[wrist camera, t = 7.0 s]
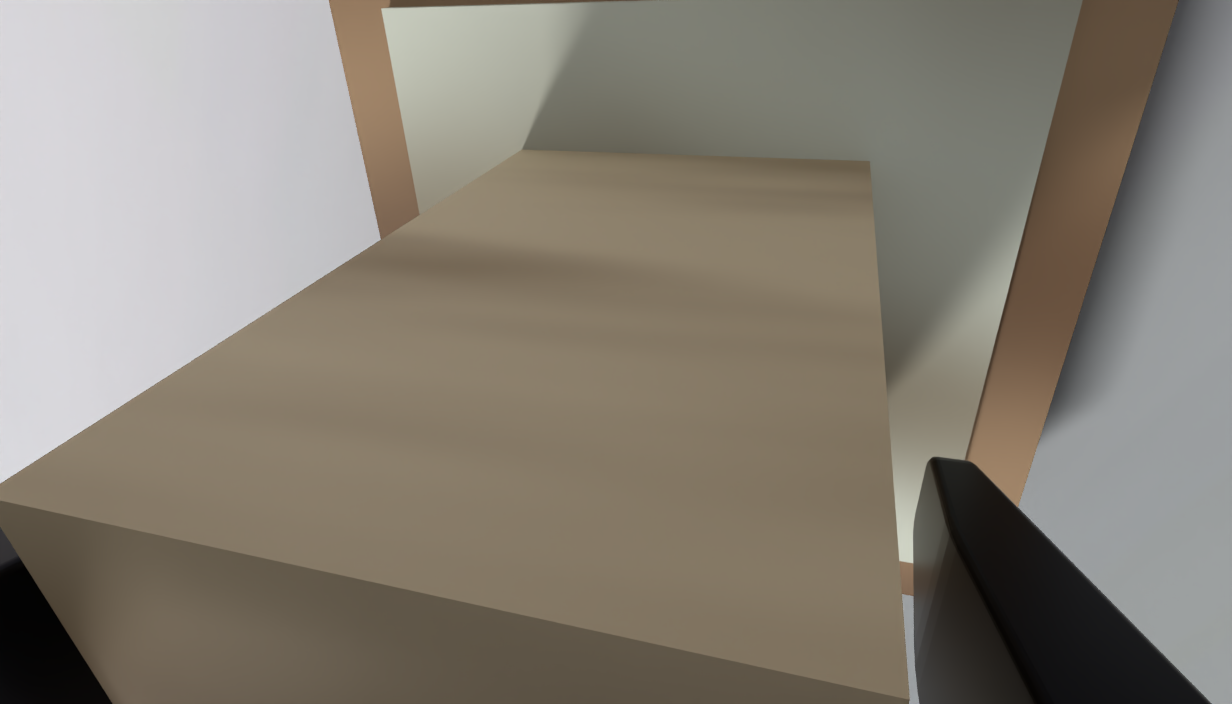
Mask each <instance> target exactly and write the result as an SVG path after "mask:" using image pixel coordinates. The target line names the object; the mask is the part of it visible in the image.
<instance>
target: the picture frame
mask: <svg viewBox="0 0 1232 704" xmlns="http://www.w3.org/2000/svg"><path fill="white" fill-rule="evenodd" d="M1178 1H1179V0H329V3H330V8H331V13H332V17H333V22H334V26H335V31H336V35H337V40H338V45H339V49H340V54H341V58H342V63H343V68H344V72H345V77H346V81H347V86H348V90H349V95H350V100H351V104H352V109H353V113H354V118H355V122H356V127H357V132H358V136H359V141H360V145H361V150H362V155H363V159H364V164H365V168H366V173H367V177H368V182H369V187H370V191H371V196H372V200H373V205H374V209H375V214H376V219H377V223H378V228H379V232H380V237H381V239H383V238H385V237H386V236H388V235H389V234H391V233H392V232H394V231H395V230H397V229H399V228H400V227H402V226H403V225H405V224H406V223H408V222H409V221H411V220H413V219H414V218H416V217H417V216H419V215H420V214H422V213H424V212H425V211H427V210H428V209H430V208H431V207H433V206H434V205H436V204H438V203H439V202H441V201H442V200H444V199H445V198H447V197H449V196H450V195H452V194H453V193H455V192H456V191H458V190H459V189H461V188H463V187H464V186H466V185H467V184H469V183H470V182H472V181H473V180H475V179H477V178H478V177H480V176H481V175H483V174H484V173H486V172H488V171H489V170H491V169H492V168H494V167H495V166H497V165H498V164H500V163H502V162H503V161H505V160H506V159H508V158H509V157H511V156H513V155H514V154H516V153H517V152H519V151H520V150H552V151H581V152H611V153H641V154H671V155H701V156H730V157H760V158H790V159H820V160H850V161H870V170H871V184H872V197H873V211H874V224H875V238H876V251H877V265H878V279H879V292H880V306H881V319H882V333H883V346H884V360H885V373H886V387H887V400H888V414H889V427H890V441H891V454H892V468H893V482H894V495H895V509H896V522H897V536H898V549H899V563H900V576H901V590H902V594H905V595H911V596H914V587H913V526H914V518H915V512H916V508H917V503H918V499H919V495H920V490H921V486H922V481H923V477H924V472H925V468H926V465H927V462H928V461H929V460H930V459H931V458H932V457H936V456H937V457H945V458H952V459H960V460H968V461H971V462H973V463H974V464H975V465H977V466H978V467H979V468H980V469H981V470H982V471H983V472H984V474H985V475H986V476H987V477H988V478H989V479H990V480H991V481H992V482H993V483H994V484H995V485H996V486H997V487H998V488H999V489H1000V490H1001V491H1002V492H1003V493H1004V494H1005V495H1006V496H1007V497H1008V498H1009V499H1010V500H1011V501H1012V502H1013V503H1014V504H1015V505H1016V506H1017V507H1018V505H1019V502H1020V499H1021V496H1022V492H1023V489H1024V486H1025V483H1026V480H1027V477H1028V474H1029V470H1030V467H1031V464H1032V461H1033V458H1034V455H1035V452H1036V448H1037V445H1038V442H1039V439H1040V436H1041V433H1042V429H1043V426H1044V423H1045V420H1046V417H1047V414H1048V411H1049V407H1050V404H1051V401H1052V398H1053V395H1054V392H1055V389H1056V385H1057V382H1058V379H1059V376H1060V373H1061V370H1062V366H1063V363H1064V360H1065V357H1066V354H1067V351H1068V348H1069V344H1070V341H1071V338H1072V335H1073V332H1074V329H1075V326H1076V322H1077V319H1078V316H1079V313H1080V310H1081V307H1082V304H1083V300H1084V297H1085V294H1086V291H1087V288H1088V285H1089V281H1090V278H1091V275H1092V272H1093V269H1094V266H1095V263H1096V259H1097V256H1098V253H1099V250H1100V247H1101V244H1102V241H1103V237H1104V234H1105V231H1106V228H1107V225H1108V222H1109V218H1110V215H1111V212H1112V209H1113V206H1114V203H1115V200H1116V196H1117V193H1118V190H1119V187H1120V184H1121V181H1122V178H1123V174H1124V171H1125V168H1126V165H1127V162H1128V159H1129V156H1130V152H1131V149H1132V146H1133V143H1134V140H1135V137H1136V133H1137V130H1138V127H1139V124H1140V121H1141V118H1142V115H1143V111H1144V108H1145V105H1146V102H1147V99H1148V96H1149V93H1150V89H1151V86H1152V83H1153V80H1154V77H1155V74H1156V70H1157V67H1158V64H1159V61H1160V58H1161V55H1162V52H1163V48H1164V45H1165V42H1166V39H1167V36H1168V33H1169V30H1170V26H1171V23H1172V20H1173V17H1174V14H1175V11H1176V8H1177V4H1178Z"/></svg>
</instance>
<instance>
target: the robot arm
mask: <svg viewBox="0 0 1232 704" xmlns="http://www.w3.org/2000/svg"><path fill="white" fill-rule="evenodd" d="M913 587H914V653H915V671H916V680H917V689H918V697H919V704H1211V703H1210V702H1209V701H1208V700H1207V699H1206V697H1205V696H1204V695H1203V694H1202V693H1201V692H1200V691H1199V690H1198V689H1197V688H1196V687H1195V686H1194V685H1193V684H1192V683H1191V682H1190V681H1189V680H1188V679H1187V678H1186V677H1185V676H1184V675H1183V674H1182V673H1181V672H1180V671H1179V670H1178V669H1177V668H1176V667H1175V666H1174V665H1173V664H1172V663H1171V662H1170V661H1169V660H1168V659H1167V658H1166V657H1165V656H1164V655H1163V654H1162V653H1161V652H1160V651H1159V650H1158V649H1157V648H1156V647H1155V646H1154V645H1153V644H1152V643H1151V642H1150V641H1149V640H1148V639H1147V638H1146V637H1145V636H1144V635H1143V634H1142V633H1141V632H1140V631H1139V630H1138V629H1137V628H1136V627H1135V626H1134V625H1133V624H1132V622H1131V621H1130V620H1129V619H1128V618H1127V617H1126V616H1125V615H1124V614H1123V613H1122V612H1121V611H1120V610H1119V609H1118V608H1117V607H1116V606H1115V605H1114V604H1113V603H1112V602H1111V601H1110V600H1109V599H1108V598H1107V597H1106V596H1105V595H1104V594H1103V593H1102V592H1101V591H1100V590H1099V589H1098V588H1097V587H1096V586H1095V585H1094V584H1093V583H1092V582H1091V581H1090V580H1089V579H1088V578H1087V577H1086V576H1085V575H1084V574H1083V573H1082V572H1081V571H1080V570H1079V569H1078V568H1077V567H1076V566H1075V565H1074V564H1073V563H1072V562H1071V561H1070V560H1069V559H1068V558H1067V557H1066V556H1065V555H1064V554H1063V553H1062V552H1061V551H1060V550H1059V549H1058V547H1057V546H1056V545H1055V544H1054V543H1053V542H1052V541H1051V540H1050V539H1049V538H1048V537H1047V536H1046V535H1045V534H1044V533H1043V532H1042V531H1041V530H1040V529H1039V528H1038V527H1037V526H1036V525H1035V524H1034V523H1033V522H1032V521H1031V520H1030V519H1029V518H1028V517H1027V516H1026V515H1025V514H1024V513H1023V512H1022V511H1021V510H1020V509H1019V508H1018V507H1017V506H1016V505H1015V504H1014V503H1013V502H1012V501H1011V500H1010V499H1009V498H1008V497H1007V496H1006V495H1005V494H1004V493H1003V492H1002V491H1001V490H1000V489H999V488H998V487H997V486H996V485H995V484H994V483H993V482H992V481H991V480H990V479H989V478H988V477H987V476H986V475H985V474H984V472H983V471H982V470H981V469H980V468H979V467H978V466H977V465H975V464H974V463H973V462H971V461H968V460H960V459H952V458H945V457H937V456H936V457H932V458H931V459H930V460H929V461H928V462H927V465H926V468H925V472H924V477H923V481H922V486H921V490H920V495H919V499H918V503H917V508H916V512H915V518H914V526H913ZM0 704H112V702H111V700H110V699H109V697H108V696H107V694H106V693H105V691H104V689H103V688H102V686H101V685H100V683H99V681H98V680H97V678H96V677H95V675H94V674H93V672H92V670H91V669H90V667H89V666H88V664H87V663H86V661H85V659H84V658H83V656H82V655H81V653H80V652H79V650H78V648H77V647H76V645H75V644H74V642H73V641H72V639H71V637H70V636H69V634H68V633H67V631H66V630H65V628H64V626H63V625H62V623H61V622H60V620H59V618H58V617H57V615H56V614H55V612H54V611H53V609H52V607H51V606H50V604H49V603H48V601H47V600H46V598H45V596H44V595H43V593H42V592H41V590H40V589H39V587H38V585H37V584H36V582H35V581H34V579H33V578H32V576H31V574H30V573H29V571H28V570H27V568H26V567H25V565H24V563H23V562H22V560H21V559H20V557H19V555H18V554H17V552H16V551H15V549H14V548H13V546H12V544H11V543H10V541H9V540H8V538H7V537H6V535H5V533H4V532H3V530H2V529H1V527H0Z"/></svg>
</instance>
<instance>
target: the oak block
mask: <svg viewBox="0 0 1232 704" xmlns="http://www.w3.org/2000/svg"><path fill="white" fill-rule="evenodd" d="M0 527H1V529H2V530H3V532H4V533H5V535H6V537H7V538H8V540H9V541H10V543H11V544H12V546H13V548H14V549H15V551H16V552H17V554H18V555H19V557H20V559H21V560H22V562H23V563H24V565H25V567H26V568H27V570H28V571H29V573H30V574H31V576H32V578H33V579H34V581H35V582H36V584H37V585H38V587H39V589H40V590H41V592H42V593H43V595H44V596H45V598H46V600H47V601H48V603H49V604H50V606H51V607H52V609H53V611H54V612H55V614H56V615H57V617H58V618H59V620H60V622H61V623H62V625H63V626H64V628H65V630H66V631H67V633H68V634H69V636H70V637H71V639H72V641H73V642H74V644H75V645H76V647H77V648H78V650H79V652H80V653H81V655H82V656H83V658H84V659H85V661H86V663H87V664H88V666H89V667H90V669H91V670H92V672H93V674H94V675H95V677H96V678H97V680H98V681H99V683H100V685H101V686H102V688H103V689H104V691H105V693H106V694H107V696H108V697H109V699H110V700H111V702H112V704H909V700H910V698H909V685H908V671H907V658H906V644H905V630H904V617H903V603H902V590H901V576H900V563H899V549H898V536H897V522H896V509H895V495H894V482H893V468H892V454H891V441H890V427H889V414H888V400H887V387H886V373H885V360H884V346H883V333H882V319H881V306H880V292H879V279H878V265H877V251H876V238H875V224H874V211H873V197H872V184H871V170H870V161H850V160H820V159H790V158H760V157H730V156H701V155H671V154H641V153H611V152H581V151H552V150H520V151H519V152H517V153H516V154H514V155H513V156H511V157H509V158H508V159H506V160H505V161H503V162H502V163H500V164H498V165H497V166H495V167H494V168H492V169H491V170H489V171H488V172H486V173H484V174H483V175H481V176H480V177H478V178H477V179H475V180H473V181H472V182H470V183H469V184H467V185H466V186H464V187H463V188H461V189H459V190H458V191H456V192H455V193H453V194H452V195H450V196H449V197H447V198H445V199H444V200H442V201H441V202H439V203H438V204H436V205H434V206H433V207H431V208H430V209H428V210H427V211H425V212H424V213H422V214H420V215H419V216H417V217H416V218H414V219H413V220H411V221H409V222H408V223H406V224H405V225H403V226H402V227H400V228H399V229H397V230H395V231H394V232H392V233H391V234H389V235H388V236H386V237H385V238H383V239H381V240H380V241H378V242H377V243H375V244H374V245H372V246H370V247H369V248H367V249H366V250H364V251H363V252H361V253H360V254H358V255H356V256H355V257H353V258H352V259H350V260H349V261H347V262H346V263H344V264H342V265H341V266H339V267H338V268H336V269H335V270H333V271H331V272H330V273H328V274H327V275H325V276H324V277H322V278H321V279H319V280H317V281H316V282H314V283H313V284H311V285H310V286H308V287H306V288H305V289H303V290H302V291H300V292H299V293H297V294H296V295H294V296H292V297H291V298H289V299H288V300H286V301H285V302H283V303H282V304H280V305H278V306H277V307H275V308H274V309H272V310H271V311H269V312H267V313H266V314H264V315H263V316H261V317H260V318H258V319H257V320H255V321H253V322H252V323H250V324H249V325H247V326H246V327H244V328H242V329H241V330H239V331H238V332H236V333H235V334H233V335H232V336H230V337H228V338H227V339H225V340H224V341H222V342H221V343H219V344H218V345H216V346H214V347H213V348H211V349H210V350H208V351H207V352H205V353H203V354H202V355H200V356H199V357H197V358H196V359H194V360H193V361H191V362H189V363H188V364H186V365H185V366H183V367H182V368H180V369H178V370H177V371H175V372H174V373H172V374H171V375H169V376H168V377H166V378H164V379H163V380H161V381H160V382H158V383H157V384H155V385H154V386H152V387H150V388H149V389H147V390H146V391H144V392H143V393H141V394H139V395H138V396H136V397H135V398H133V399H132V400H130V401H129V402H127V403H125V404H124V405H122V406H121V407H119V408H118V409H116V410H114V411H113V412H111V413H110V414H108V415H107V416H105V417H104V418H102V419H100V420H99V421H97V422H96V423H94V424H93V425H91V426H90V427H88V428H86V429H85V430H83V431H82V432H80V433H79V434H77V435H75V436H74V437H72V438H71V439H69V440H68V441H66V442H65V443H63V444H61V445H60V446H58V447H57V448H55V449H54V450H52V451H51V452H49V453H47V454H46V455H44V456H43V457H41V458H40V459H38V460H36V461H35V462H33V463H32V464H30V465H29V466H27V467H26V468H24V469H22V470H21V471H19V472H18V473H16V474H15V475H13V476H11V477H10V478H8V479H7V480H5V481H4V482H2V483H1V484H0Z"/></svg>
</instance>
